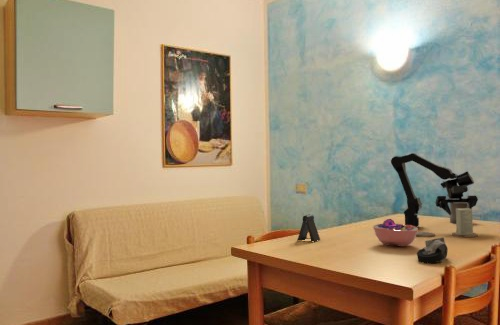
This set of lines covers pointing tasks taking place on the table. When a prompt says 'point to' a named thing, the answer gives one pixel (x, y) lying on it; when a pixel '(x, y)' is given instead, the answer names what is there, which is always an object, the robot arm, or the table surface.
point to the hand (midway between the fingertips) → (460, 214)
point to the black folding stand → (308, 229)
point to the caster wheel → (433, 251)
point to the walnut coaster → (465, 235)
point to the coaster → (424, 234)
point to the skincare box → (464, 221)
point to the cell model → (395, 233)
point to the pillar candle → (453, 210)
